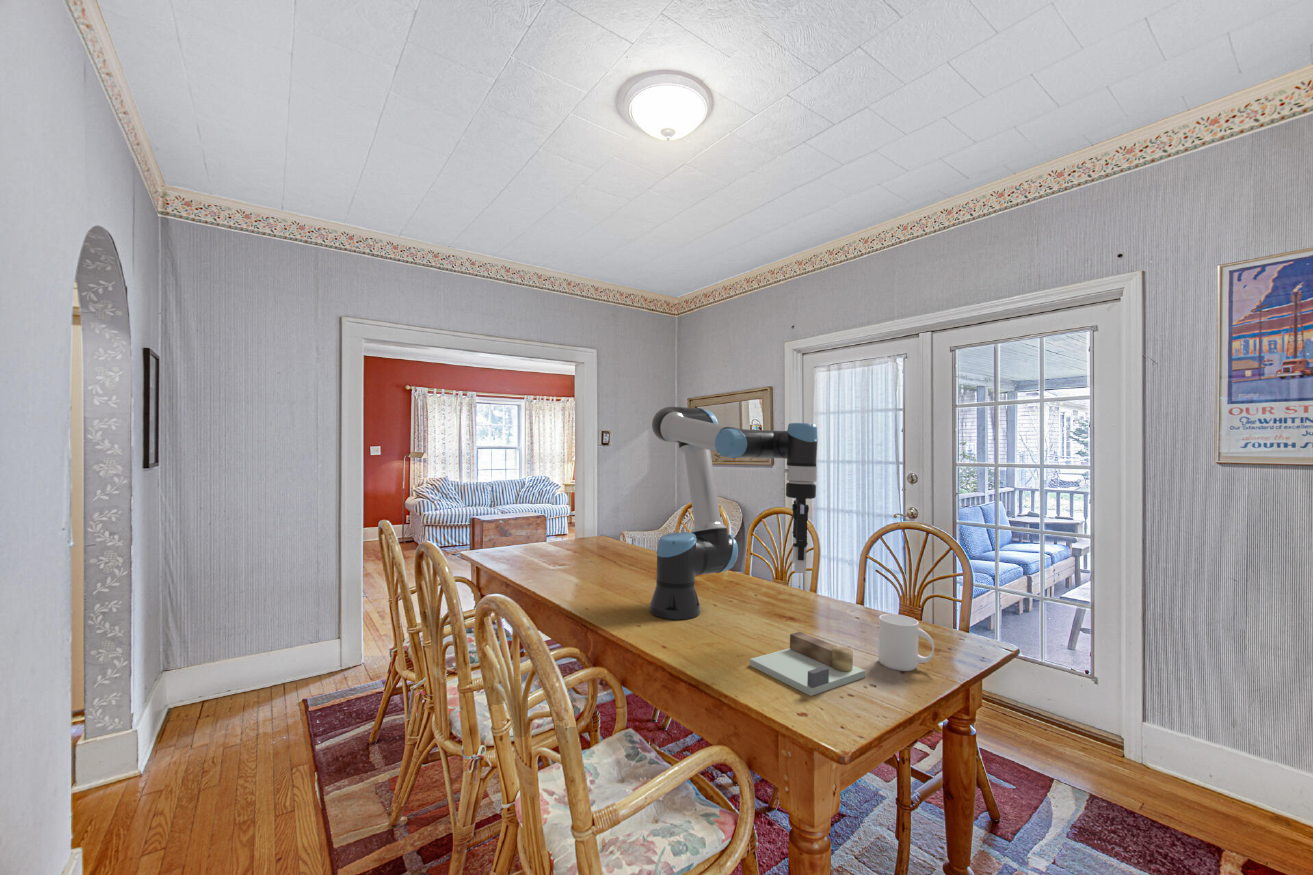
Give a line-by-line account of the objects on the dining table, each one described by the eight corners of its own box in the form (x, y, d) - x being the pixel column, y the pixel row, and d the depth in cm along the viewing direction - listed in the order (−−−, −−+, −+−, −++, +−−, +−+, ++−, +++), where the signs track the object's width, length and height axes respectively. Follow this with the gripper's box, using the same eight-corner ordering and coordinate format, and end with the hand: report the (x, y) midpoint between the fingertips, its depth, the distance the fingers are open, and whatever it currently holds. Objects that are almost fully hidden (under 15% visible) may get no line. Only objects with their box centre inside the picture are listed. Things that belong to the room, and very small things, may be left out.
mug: (932, 678, 123) (933, 630, 123) (875, 666, 130) (876, 620, 130) (935, 665, 131) (936, 620, 131) (881, 654, 137) (882, 611, 137)
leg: (788, 648, 135) (788, 633, 135) (800, 645, 137) (801, 630, 137) (844, 672, 121) (844, 655, 121) (856, 668, 124) (857, 651, 124)
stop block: (807, 685, 115) (807, 671, 115) (823, 680, 117) (823, 666, 117) (812, 688, 114) (813, 673, 114) (828, 682, 116) (828, 668, 116)
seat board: (749, 665, 128) (749, 658, 128) (802, 650, 138) (802, 644, 138) (810, 695, 113) (811, 688, 113) (865, 677, 123) (865, 670, 123)
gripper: (784, 479, 155) (782, 557, 155) (788, 485, 132) (785, 577, 132) (812, 480, 153) (810, 559, 153) (820, 486, 131) (817, 579, 131)
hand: (798, 567), depth 143 cm, fingers open, 10 cm apart
